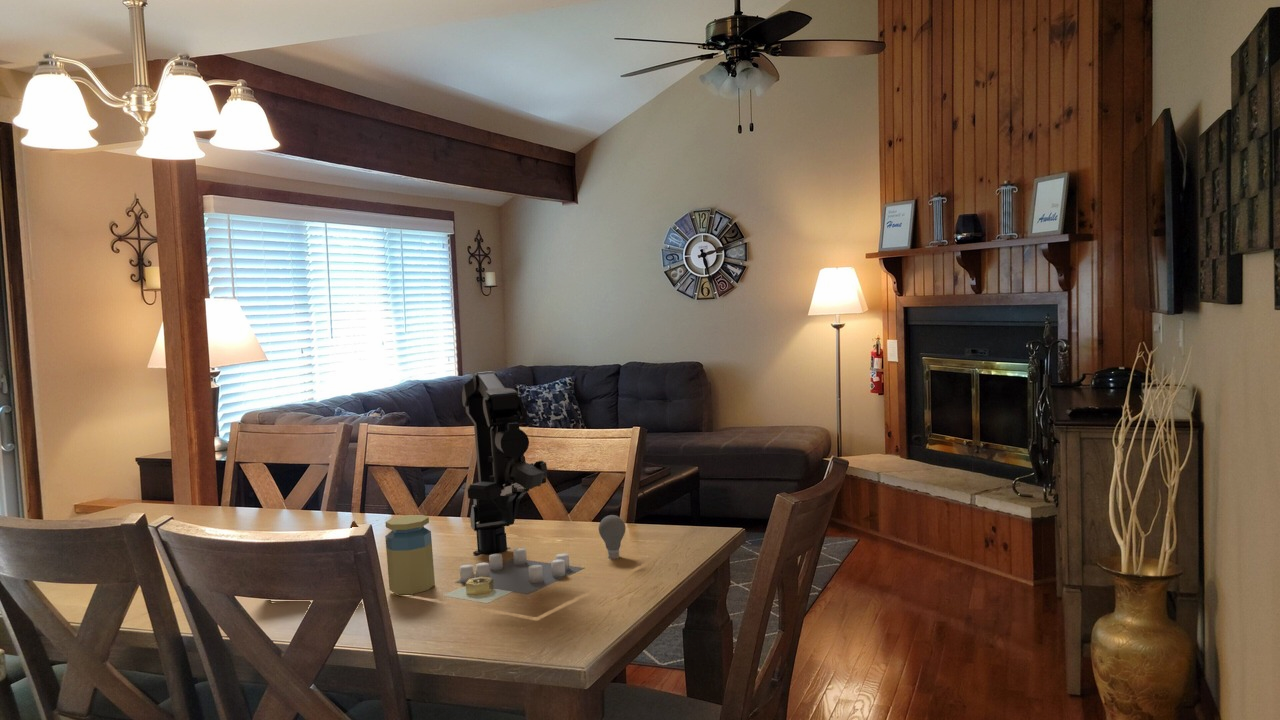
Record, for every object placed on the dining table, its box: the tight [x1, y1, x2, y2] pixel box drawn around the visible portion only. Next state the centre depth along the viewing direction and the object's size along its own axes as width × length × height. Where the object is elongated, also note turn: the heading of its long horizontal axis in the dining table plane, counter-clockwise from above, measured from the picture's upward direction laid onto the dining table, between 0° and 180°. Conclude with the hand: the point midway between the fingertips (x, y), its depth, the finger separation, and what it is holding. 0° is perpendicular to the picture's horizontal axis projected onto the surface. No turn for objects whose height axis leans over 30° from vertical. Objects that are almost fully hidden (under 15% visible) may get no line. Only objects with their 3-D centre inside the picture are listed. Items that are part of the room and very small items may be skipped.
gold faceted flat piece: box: [465, 576, 494, 596], centre depth 184 cm, size 6×5×2 cm
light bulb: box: [598, 514, 627, 560], centre depth 203 cm, size 6×6×10 cm
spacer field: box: [454, 547, 585, 595], centre depth 193 cm, size 20×19×4 cm
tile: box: [442, 585, 512, 604], centre depth 183 cm, size 12×8×1 cm, turn 57°
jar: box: [385, 514, 436, 596], centre depth 189 cm, size 9×9×15 cm
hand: (510, 524), depth 191 cm, fingers closed
